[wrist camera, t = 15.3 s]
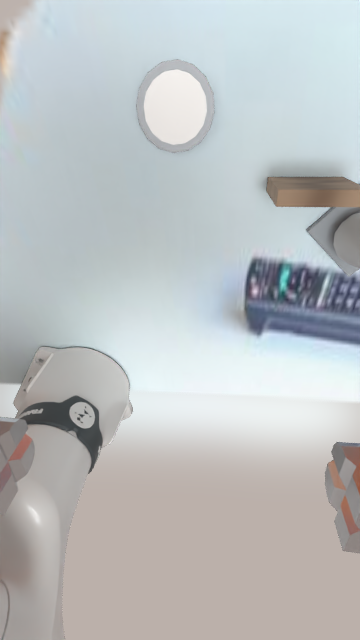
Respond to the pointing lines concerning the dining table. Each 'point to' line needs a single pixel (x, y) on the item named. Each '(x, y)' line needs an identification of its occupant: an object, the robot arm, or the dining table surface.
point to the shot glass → (175, 106)
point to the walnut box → (313, 192)
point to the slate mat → (332, 233)
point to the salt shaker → (348, 240)
